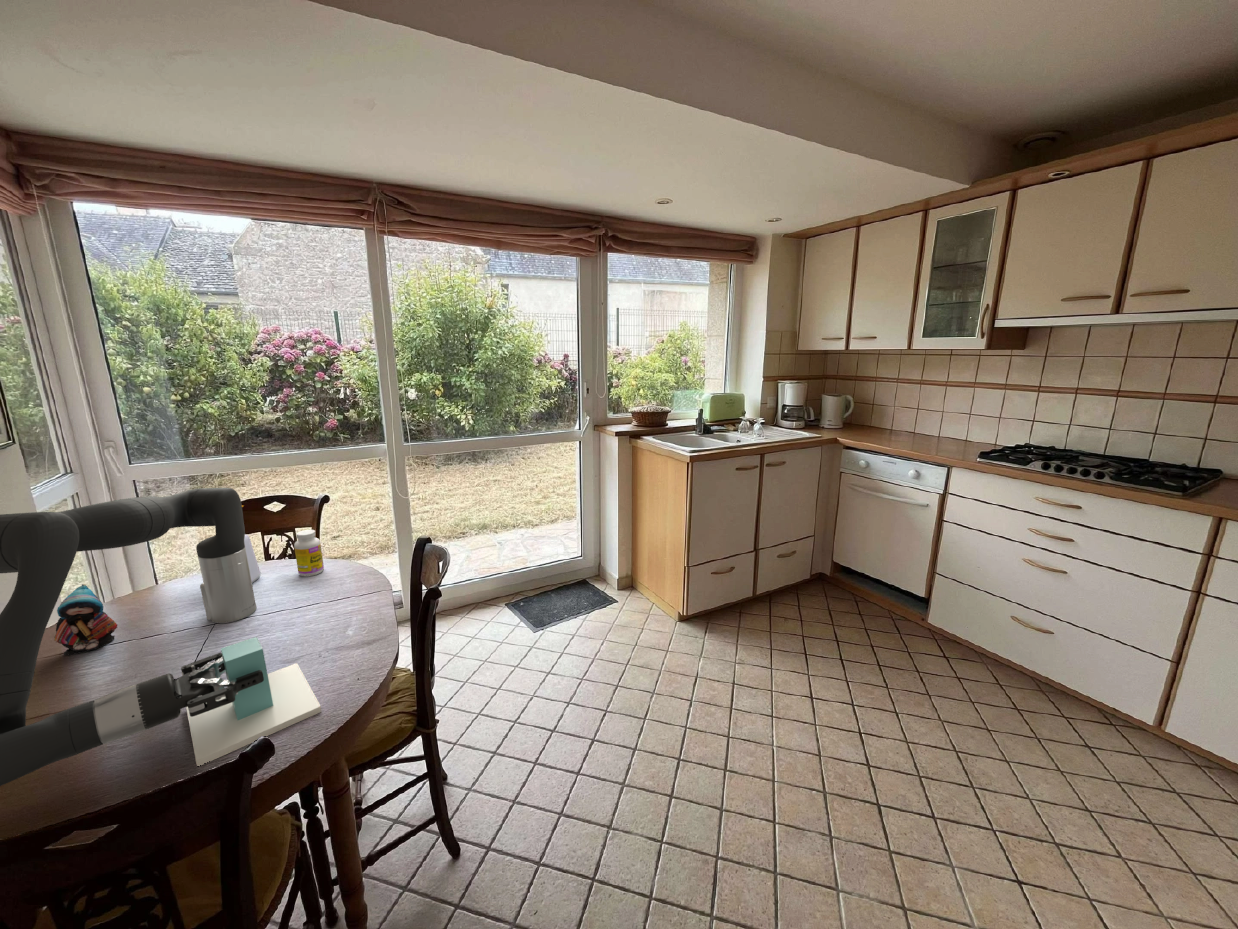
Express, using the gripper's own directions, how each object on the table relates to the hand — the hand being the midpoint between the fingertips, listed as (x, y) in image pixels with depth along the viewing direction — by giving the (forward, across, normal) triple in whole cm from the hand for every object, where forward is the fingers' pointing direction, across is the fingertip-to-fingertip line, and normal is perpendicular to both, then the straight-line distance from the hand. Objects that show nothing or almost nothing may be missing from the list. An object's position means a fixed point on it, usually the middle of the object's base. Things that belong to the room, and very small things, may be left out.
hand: (258, 664), depth 92 cm
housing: (-2, 0, +8) cm, 8 cm away
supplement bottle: (+21, +59, +9) cm, 63 cm away
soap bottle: (+5, +66, +9) cm, 67 cm away
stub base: (-2, 0, +9) cm, 9 cm away
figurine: (-25, +50, +9) cm, 56 cm away
